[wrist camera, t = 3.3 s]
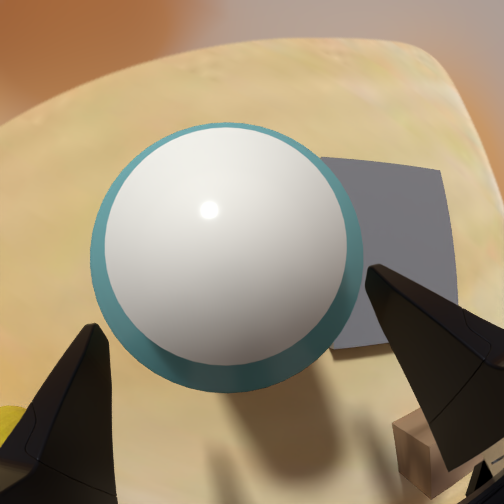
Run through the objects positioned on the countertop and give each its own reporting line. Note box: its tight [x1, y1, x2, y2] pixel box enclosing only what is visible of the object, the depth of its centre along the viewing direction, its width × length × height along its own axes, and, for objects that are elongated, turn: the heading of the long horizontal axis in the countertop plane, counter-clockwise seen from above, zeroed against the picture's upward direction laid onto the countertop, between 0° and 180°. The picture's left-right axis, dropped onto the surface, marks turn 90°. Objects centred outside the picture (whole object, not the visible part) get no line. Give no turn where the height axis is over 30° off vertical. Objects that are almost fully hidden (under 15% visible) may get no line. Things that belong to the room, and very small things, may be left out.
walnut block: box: [392, 407, 483, 499], centre depth 15 cm, size 5×5×5 cm
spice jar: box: [90, 123, 363, 393], centre depth 12 cm, size 6×6×13 cm
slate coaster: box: [320, 157, 458, 349], centre depth 19 cm, size 12×10×1 cm
